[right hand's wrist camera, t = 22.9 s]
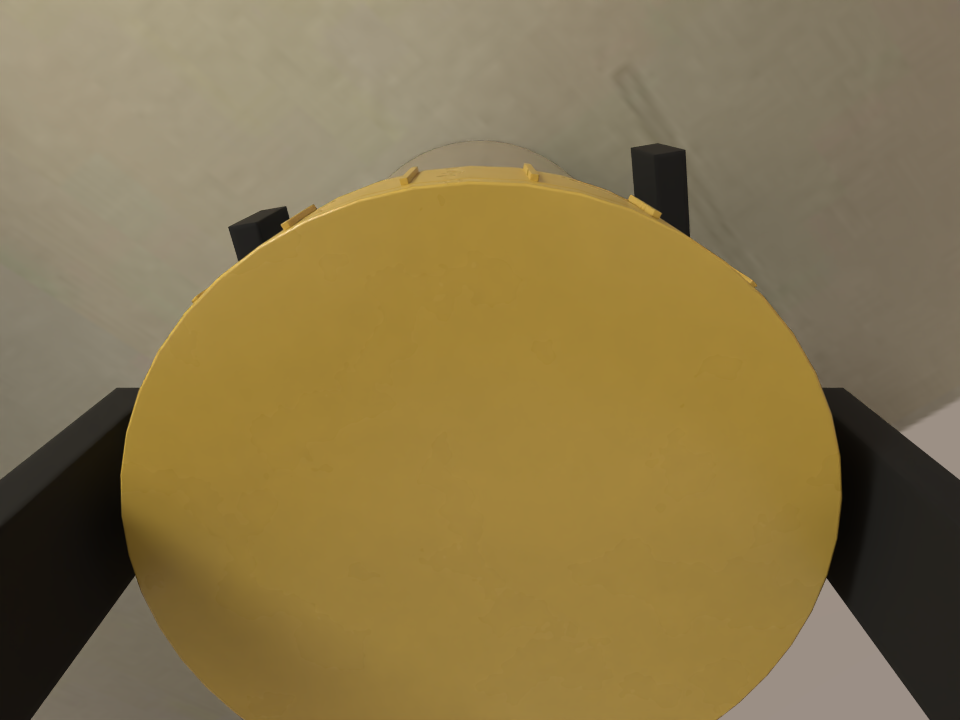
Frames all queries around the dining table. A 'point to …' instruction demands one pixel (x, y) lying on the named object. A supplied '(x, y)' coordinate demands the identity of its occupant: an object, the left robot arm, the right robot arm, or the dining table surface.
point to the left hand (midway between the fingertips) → (454, 182)
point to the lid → (481, 464)
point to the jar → (480, 158)
